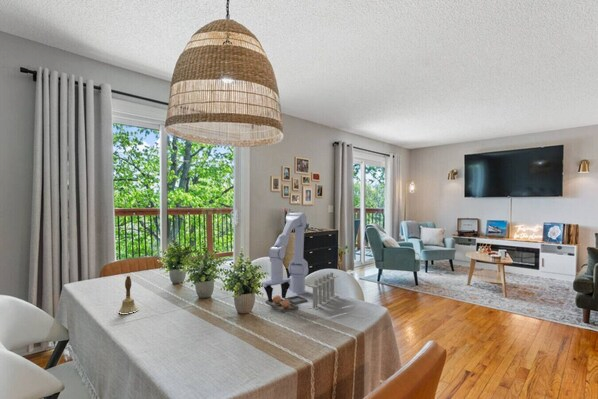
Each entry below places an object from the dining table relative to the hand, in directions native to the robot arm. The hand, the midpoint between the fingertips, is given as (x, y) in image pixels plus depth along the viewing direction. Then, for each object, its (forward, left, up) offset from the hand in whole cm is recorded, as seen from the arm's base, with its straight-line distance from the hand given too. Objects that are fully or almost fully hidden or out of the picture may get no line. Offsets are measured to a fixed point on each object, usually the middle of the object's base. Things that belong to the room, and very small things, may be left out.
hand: (276, 299), depth 150 cm
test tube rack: (+11, +21, -3) cm, 24 cm away
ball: (+8, 0, -2) cm, 8 cm away
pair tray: (+4, 0, -2) cm, 5 cm away
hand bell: (-31, -60, -3) cm, 68 cm away
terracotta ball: (0, 0, -2) cm, 2 cm away
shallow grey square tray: (+2, +10, -2) cm, 10 cm away
